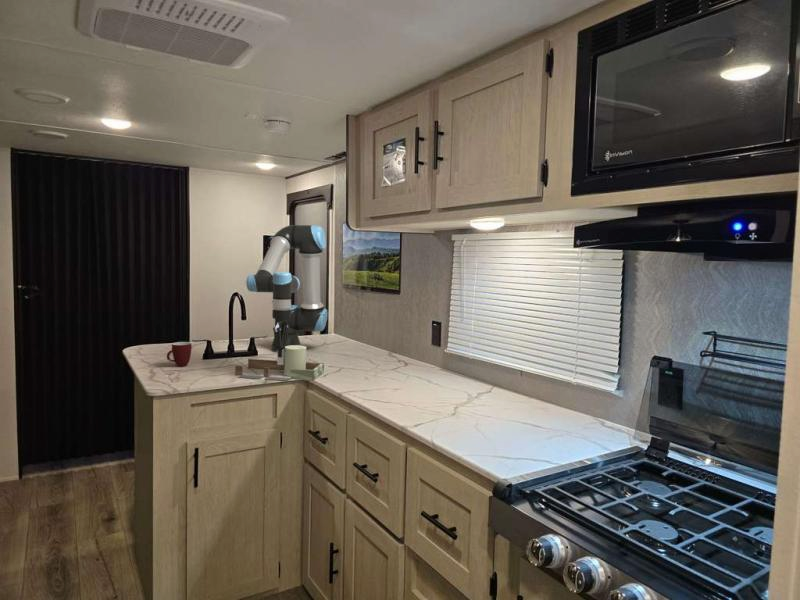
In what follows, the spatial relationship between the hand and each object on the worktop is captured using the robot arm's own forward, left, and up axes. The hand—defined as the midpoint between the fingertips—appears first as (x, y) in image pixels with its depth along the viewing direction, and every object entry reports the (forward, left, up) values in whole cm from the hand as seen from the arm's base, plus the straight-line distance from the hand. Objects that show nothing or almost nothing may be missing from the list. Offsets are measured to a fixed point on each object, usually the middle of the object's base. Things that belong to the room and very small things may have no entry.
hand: (280, 364), depth 227 cm
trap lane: (0, 0, -4) cm, 4 cm away
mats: (+9, -4, -4) cm, 10 cm away
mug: (-2, -47, -4) cm, 48 cm away
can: (-1, +6, -4) cm, 7 cm away
